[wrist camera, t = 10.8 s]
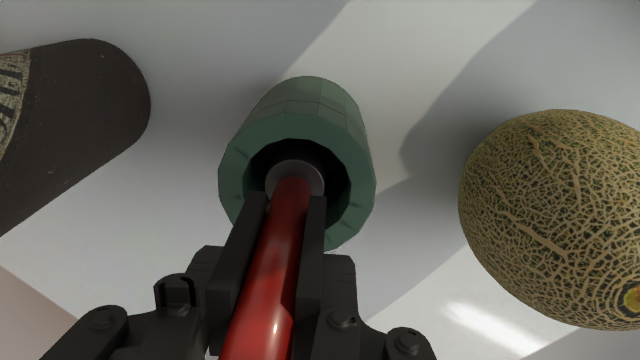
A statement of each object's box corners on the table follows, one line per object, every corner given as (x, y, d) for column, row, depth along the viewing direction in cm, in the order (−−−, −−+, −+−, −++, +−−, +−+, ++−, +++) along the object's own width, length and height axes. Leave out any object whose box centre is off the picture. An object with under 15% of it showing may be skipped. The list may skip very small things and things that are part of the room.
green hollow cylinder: (230, 126, 30) (185, 182, 21) (312, 50, 28) (300, 77, 18) (304, 200, 32) (292, 280, 23) (385, 137, 30) (407, 198, 21)
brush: (271, 140, 28) (125, 464, 9) (306, 110, 27) (226, 402, 8) (302, 173, 29) (232, 530, 10) (337, 145, 28) (335, 482, 9)
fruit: (418, 122, 29) (490, 231, 16) (578, 63, 27) (820, 129, 14) (457, 245, 34) (540, 414, 20) (598, 202, 32) (798, 358, 18)
